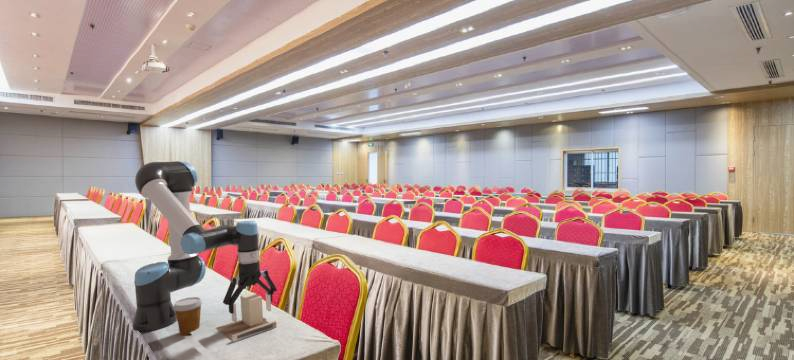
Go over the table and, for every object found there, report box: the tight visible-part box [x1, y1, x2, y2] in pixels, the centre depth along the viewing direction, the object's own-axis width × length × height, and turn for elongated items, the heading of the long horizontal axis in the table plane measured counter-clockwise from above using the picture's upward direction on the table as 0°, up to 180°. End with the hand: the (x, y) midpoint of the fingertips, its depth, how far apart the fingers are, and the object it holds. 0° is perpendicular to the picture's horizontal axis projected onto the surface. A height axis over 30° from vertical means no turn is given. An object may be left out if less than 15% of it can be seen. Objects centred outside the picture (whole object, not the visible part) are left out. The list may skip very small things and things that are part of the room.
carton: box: [239, 291, 264, 327], centre depth 150 cm, size 8×5×10 cm, turn 44°
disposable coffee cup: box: [173, 296, 203, 337], centre depth 146 cm, size 10×10×12 cm
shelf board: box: [215, 318, 278, 343], centre depth 145 cm, size 17×16×4 cm
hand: (252, 315), depth 151 cm, fingers open, 13 cm apart
